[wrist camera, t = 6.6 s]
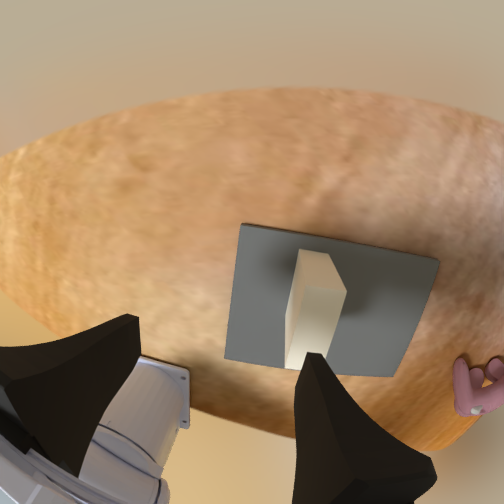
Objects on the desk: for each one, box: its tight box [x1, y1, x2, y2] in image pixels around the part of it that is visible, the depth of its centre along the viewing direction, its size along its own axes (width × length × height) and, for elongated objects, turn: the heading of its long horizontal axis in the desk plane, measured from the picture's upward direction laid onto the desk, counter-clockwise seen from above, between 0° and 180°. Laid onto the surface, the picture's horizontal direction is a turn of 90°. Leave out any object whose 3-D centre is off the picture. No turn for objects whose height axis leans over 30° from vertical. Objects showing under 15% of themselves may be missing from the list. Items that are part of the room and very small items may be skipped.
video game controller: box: [453, 358, 504, 417], centre depth 18 cm, size 10×5×7 cm, turn 102°
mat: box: [224, 224, 440, 377], centre depth 20 cm, size 11×15×1 cm
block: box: [285, 249, 347, 370], centre depth 16 cm, size 5×2×6 cm, turn 172°
